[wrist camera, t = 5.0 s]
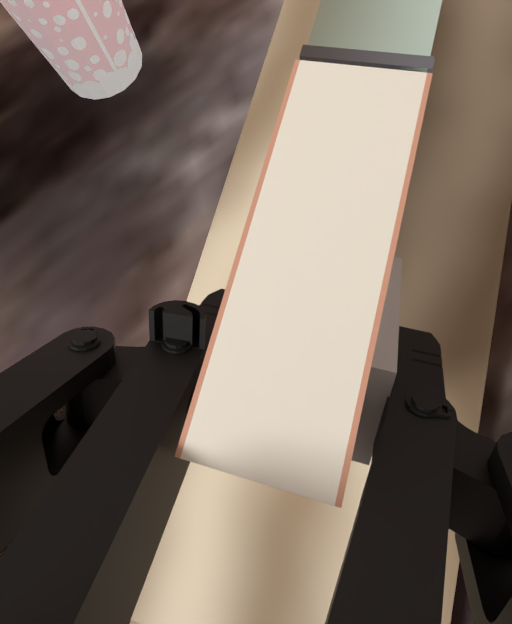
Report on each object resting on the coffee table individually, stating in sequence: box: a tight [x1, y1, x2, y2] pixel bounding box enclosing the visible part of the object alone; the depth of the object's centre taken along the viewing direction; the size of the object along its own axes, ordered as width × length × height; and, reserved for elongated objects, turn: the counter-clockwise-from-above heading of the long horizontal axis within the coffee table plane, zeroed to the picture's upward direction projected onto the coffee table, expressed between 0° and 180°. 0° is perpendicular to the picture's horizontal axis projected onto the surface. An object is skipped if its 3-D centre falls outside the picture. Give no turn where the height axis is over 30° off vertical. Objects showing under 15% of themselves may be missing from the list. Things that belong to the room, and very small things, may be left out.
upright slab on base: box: [131, 0, 512, 624], centre depth 15 cm, size 12×30×12 cm, turn 164°
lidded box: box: [174, 60, 433, 508], centre depth 13 cm, size 3×8×10 cm, turn 164°
